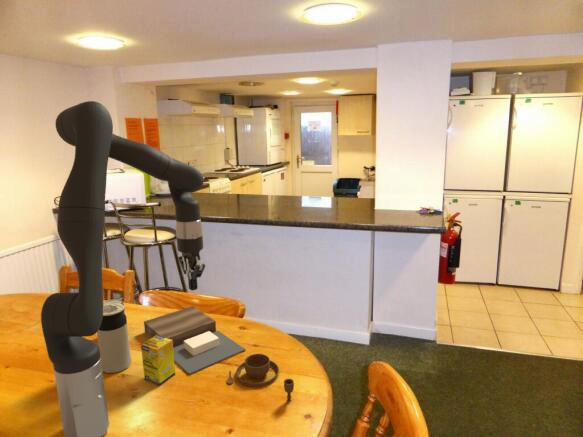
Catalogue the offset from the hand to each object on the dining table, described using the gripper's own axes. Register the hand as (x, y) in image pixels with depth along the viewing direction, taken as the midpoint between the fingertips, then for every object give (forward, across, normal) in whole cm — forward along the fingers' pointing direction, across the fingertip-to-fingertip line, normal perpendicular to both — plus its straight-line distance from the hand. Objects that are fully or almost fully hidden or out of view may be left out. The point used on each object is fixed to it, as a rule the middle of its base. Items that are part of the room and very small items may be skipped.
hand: (193, 289), depth 126 cm
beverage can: (+19, -24, -17) cm, 35 cm away
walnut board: (+19, -12, 0) cm, 22 cm away
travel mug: (+19, -6, -23) cm, 30 cm away
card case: (+16, +2, 0) cm, 16 cm away
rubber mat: (+19, +5, 0) cm, 20 cm away
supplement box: (+19, +8, -16) cm, 26 cm away
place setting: (+20, +29, +3) cm, 35 cm away
